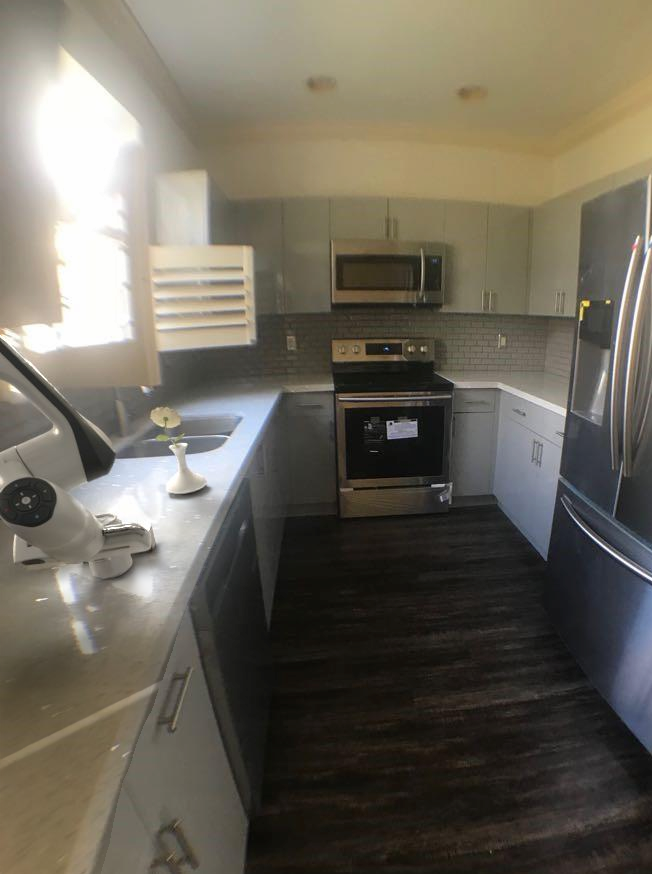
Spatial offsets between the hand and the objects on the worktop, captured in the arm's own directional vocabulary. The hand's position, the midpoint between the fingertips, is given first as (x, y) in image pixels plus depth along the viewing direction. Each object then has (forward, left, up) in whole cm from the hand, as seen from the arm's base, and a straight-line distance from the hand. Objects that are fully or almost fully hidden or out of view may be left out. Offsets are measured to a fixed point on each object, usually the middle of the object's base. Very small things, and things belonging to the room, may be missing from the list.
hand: (102, 558), depth 89 cm
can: (0, +4, -6) cm, 7 cm away
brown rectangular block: (0, +12, -5) cm, 13 cm away
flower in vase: (+11, +47, -6) cm, 49 cm away
